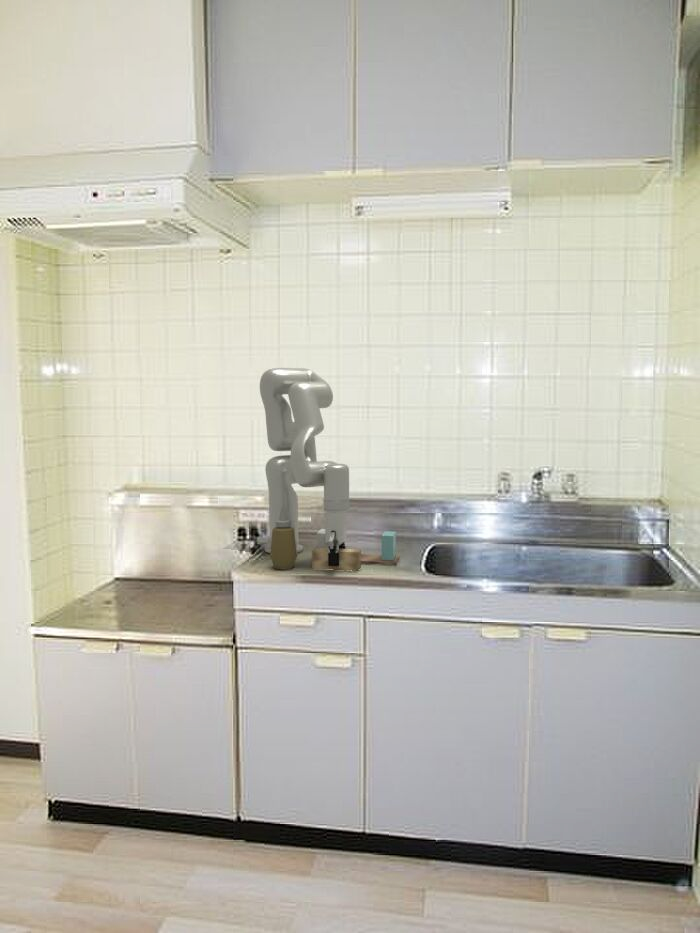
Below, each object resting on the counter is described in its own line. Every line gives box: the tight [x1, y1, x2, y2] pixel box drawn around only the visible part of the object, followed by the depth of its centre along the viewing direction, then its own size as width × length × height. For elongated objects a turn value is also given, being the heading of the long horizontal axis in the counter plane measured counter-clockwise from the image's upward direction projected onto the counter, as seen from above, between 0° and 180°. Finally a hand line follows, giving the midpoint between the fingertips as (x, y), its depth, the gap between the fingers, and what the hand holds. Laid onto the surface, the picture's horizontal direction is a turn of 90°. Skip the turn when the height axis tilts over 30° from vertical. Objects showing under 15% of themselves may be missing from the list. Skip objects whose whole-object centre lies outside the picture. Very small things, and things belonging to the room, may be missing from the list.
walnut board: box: [361, 553, 400, 566], centre depth 232 cm, size 26×9×2 cm, turn 80°
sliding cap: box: [381, 530, 397, 561], centre depth 230 cm, size 4×7×8 cm, turn 170°
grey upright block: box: [315, 528, 329, 548], centre depth 234 cm, size 4×7×8 cm, turn 170°
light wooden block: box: [311, 546, 362, 572], centre depth 222 cm, size 14×4×6 cm, turn 78°
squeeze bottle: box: [269, 508, 298, 570], centre depth 222 cm, size 8×8×18 cm
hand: (337, 562), depth 222 cm, fingers open, 9 cm apart
